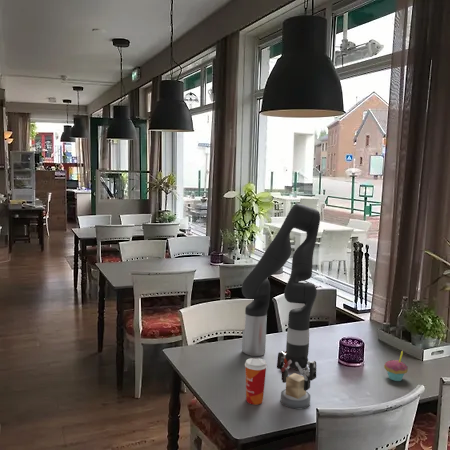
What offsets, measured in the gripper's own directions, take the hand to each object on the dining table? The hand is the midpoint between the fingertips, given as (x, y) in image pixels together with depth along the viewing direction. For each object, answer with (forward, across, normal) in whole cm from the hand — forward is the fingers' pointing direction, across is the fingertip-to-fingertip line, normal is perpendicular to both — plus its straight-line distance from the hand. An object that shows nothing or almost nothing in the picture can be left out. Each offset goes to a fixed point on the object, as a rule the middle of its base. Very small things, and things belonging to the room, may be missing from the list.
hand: (295, 385), depth 168 cm
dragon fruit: (+6, +16, -24) cm, 29 cm away
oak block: (+3, 0, 0) cm, 3 cm away
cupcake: (+6, -18, -43) cm, 47 cm away
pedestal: (+6, 0, 0) cm, 6 cm away
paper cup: (+6, +10, +9) cm, 15 cm away
